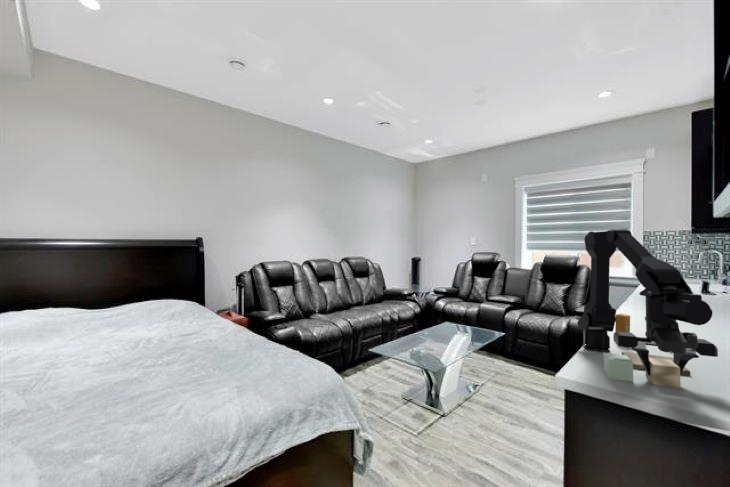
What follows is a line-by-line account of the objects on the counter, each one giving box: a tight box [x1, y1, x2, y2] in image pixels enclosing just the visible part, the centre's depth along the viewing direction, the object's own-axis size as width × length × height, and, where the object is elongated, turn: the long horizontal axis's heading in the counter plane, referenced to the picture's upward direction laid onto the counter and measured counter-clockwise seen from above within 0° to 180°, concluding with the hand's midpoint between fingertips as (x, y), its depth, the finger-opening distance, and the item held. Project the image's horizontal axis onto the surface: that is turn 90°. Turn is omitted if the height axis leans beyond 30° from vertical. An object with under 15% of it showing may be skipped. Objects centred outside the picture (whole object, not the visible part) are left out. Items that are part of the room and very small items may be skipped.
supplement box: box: [614, 313, 631, 333], centre depth 113 cm, size 3×3×10 cm
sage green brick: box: [603, 352, 634, 382], centre depth 85 cm, size 5×6×5 cm
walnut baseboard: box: [621, 351, 691, 377], centre depth 92 cm, size 12×12×1 cm
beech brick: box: [645, 358, 682, 389], centre depth 80 cm, size 5×6×5 cm
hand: (662, 376), depth 80 cm, fingers closed on beech brick, 5 cm apart
